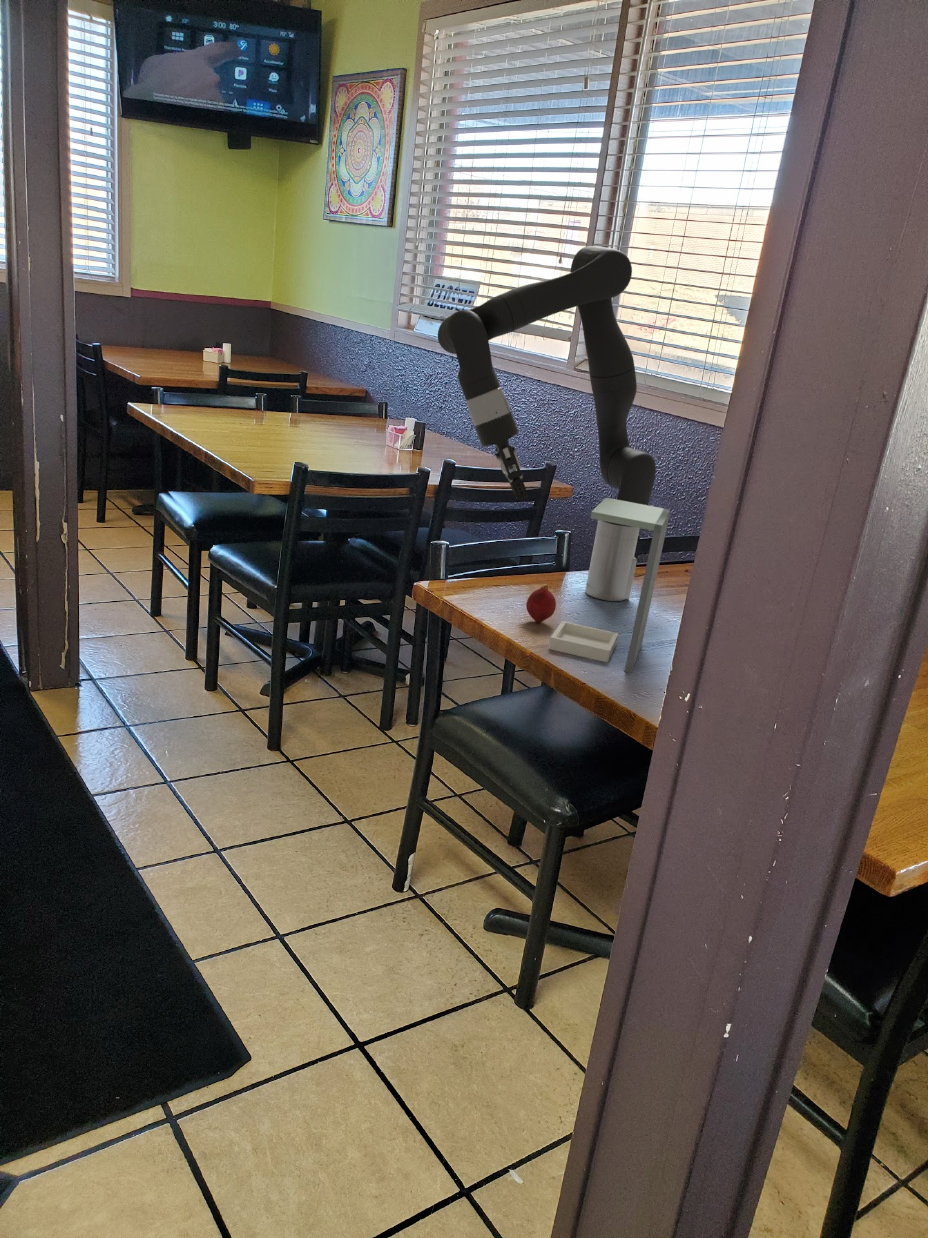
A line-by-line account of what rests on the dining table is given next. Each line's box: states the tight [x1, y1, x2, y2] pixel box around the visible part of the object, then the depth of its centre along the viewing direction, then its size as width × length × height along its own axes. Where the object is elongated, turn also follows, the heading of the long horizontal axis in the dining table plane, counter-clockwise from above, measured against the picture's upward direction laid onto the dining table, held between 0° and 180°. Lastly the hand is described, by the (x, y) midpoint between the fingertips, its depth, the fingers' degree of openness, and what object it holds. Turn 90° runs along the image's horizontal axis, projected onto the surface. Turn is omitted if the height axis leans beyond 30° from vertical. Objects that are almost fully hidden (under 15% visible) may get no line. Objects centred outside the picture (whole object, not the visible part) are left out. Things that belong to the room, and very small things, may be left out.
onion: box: [526, 583, 557, 624], centre depth 184 cm, size 6×6×8 cm
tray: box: [548, 620, 619, 663], centre depth 175 cm, size 11×11×2 cm
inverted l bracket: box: [590, 497, 671, 674], centre depth 170 cm, size 12×16×27 cm
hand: (521, 496), depth 179 cm, fingers open, 8 cm apart
